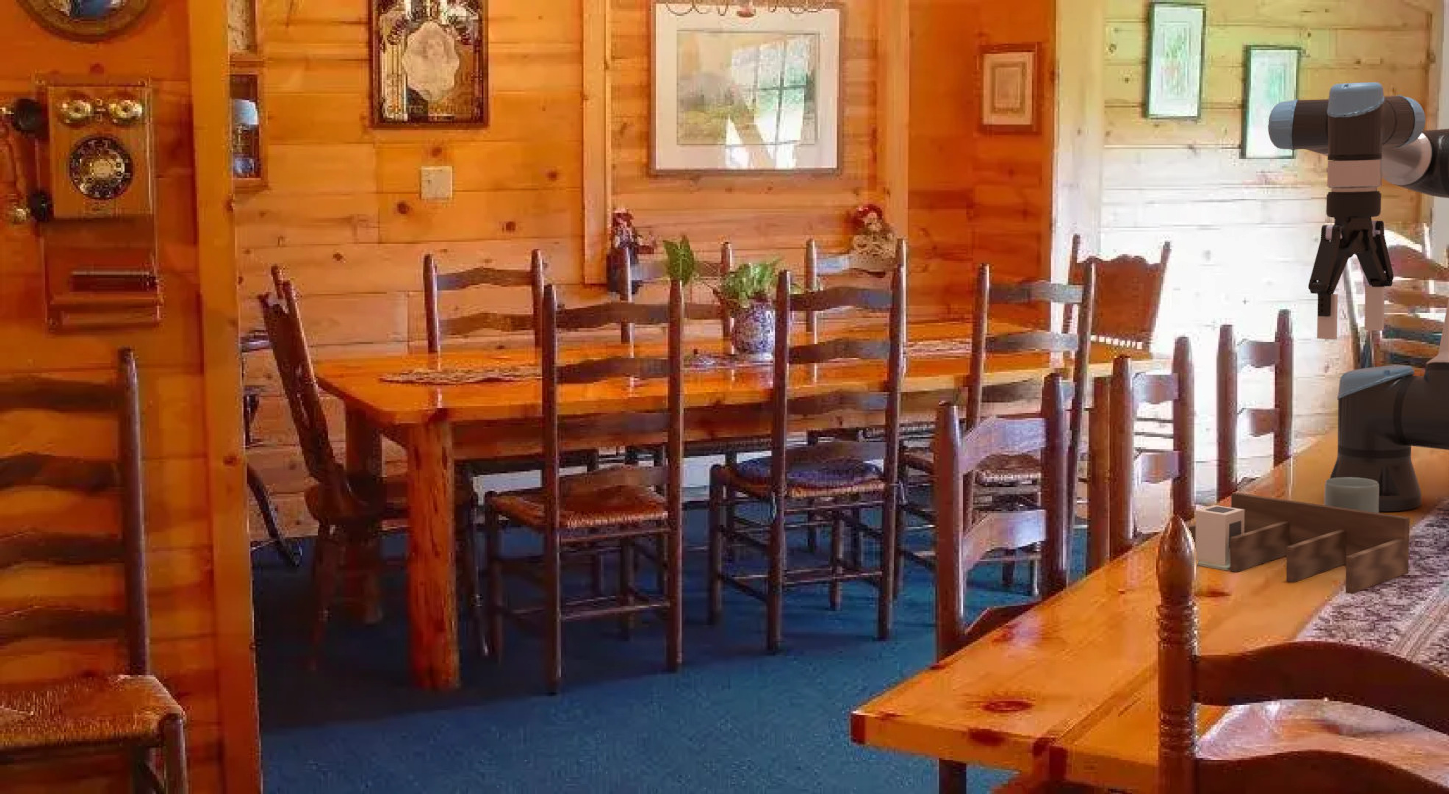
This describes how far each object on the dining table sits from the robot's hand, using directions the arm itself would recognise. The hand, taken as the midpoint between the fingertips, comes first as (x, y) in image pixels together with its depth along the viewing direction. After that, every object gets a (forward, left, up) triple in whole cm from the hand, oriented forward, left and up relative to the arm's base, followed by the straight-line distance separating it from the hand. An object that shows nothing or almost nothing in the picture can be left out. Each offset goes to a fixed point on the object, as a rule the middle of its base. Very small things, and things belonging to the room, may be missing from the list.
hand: (1350, 334), depth 259 cm
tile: (+17, -10, -33) cm, 38 cm away
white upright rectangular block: (+18, -10, -32) cm, 38 cm away
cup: (-3, -1, -33) cm, 33 cm away
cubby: (+14, -1, -33) cm, 36 cm away
